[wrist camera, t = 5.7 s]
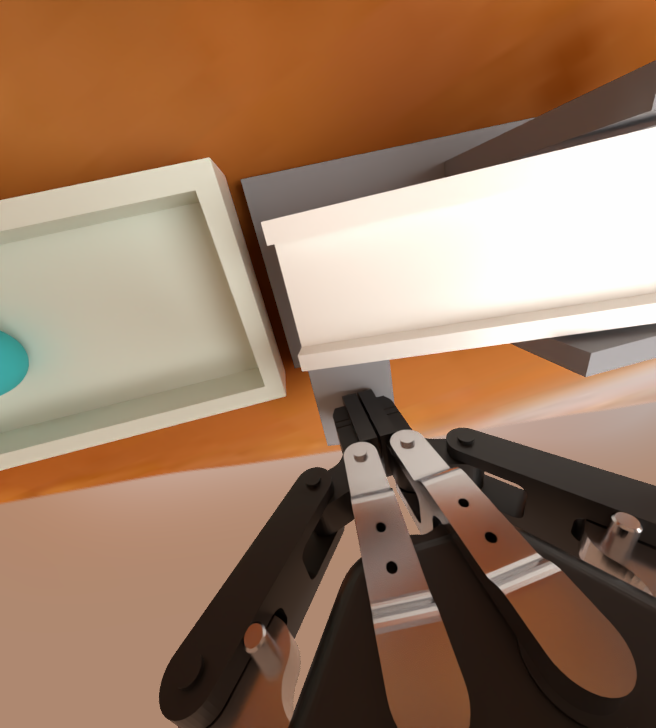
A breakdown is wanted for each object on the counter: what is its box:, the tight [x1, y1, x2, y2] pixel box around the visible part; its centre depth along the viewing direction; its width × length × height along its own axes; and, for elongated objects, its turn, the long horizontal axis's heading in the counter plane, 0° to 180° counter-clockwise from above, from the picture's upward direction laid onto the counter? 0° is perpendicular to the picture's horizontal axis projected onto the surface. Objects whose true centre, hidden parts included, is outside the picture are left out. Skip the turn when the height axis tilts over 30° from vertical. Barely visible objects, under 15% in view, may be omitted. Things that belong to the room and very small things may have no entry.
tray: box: [0, 157, 286, 471], centre depth 15 cm, size 12×20×4 cm, turn 101°
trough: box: [261, 127, 656, 446], centre depth 11 cm, size 12×26×6 cm, turn 101°
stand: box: [241, 60, 656, 377], centre depth 13 cm, size 11×27×10 cm, turn 101°
